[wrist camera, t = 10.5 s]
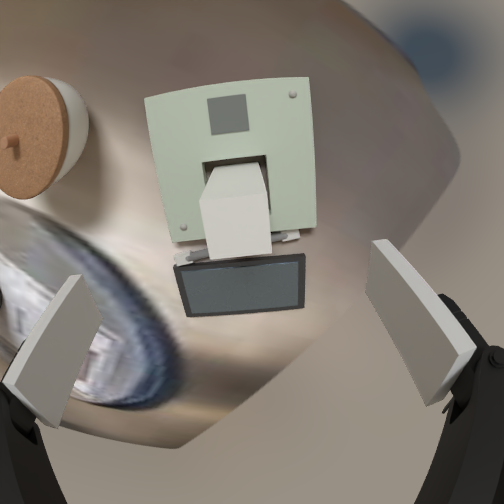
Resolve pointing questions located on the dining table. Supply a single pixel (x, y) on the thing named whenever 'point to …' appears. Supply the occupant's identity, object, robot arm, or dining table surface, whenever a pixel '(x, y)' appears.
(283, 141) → the outlet plate
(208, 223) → the block
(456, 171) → the dining table surface
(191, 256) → the grey pen
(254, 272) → the phone
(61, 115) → the lidded jar
